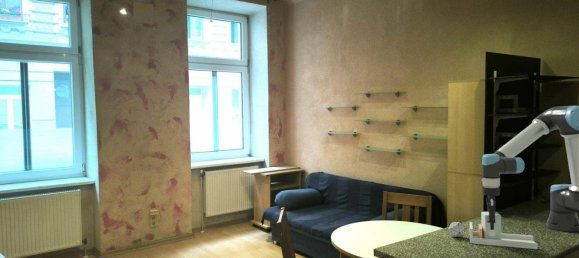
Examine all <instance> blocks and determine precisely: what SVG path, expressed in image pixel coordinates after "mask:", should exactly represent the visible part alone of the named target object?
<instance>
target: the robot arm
mask: <svg viewBox="0 0 579 258" xmlns="http://www.w3.org/2000/svg"><path fill="white" fill-rule="evenodd" d="M555 130H559V135H560V136H561V137H563V139H564V143H565V144H564V145H565V151H566V155H567V156H566V157H567V162H568V169H569V170H568V171H569V176H570V182H571V184H566V183H563V184H553V185H551V186H550V191H549V193H550V195H549V197H550V211H549V216H548V218H547V220H546V227H547V228H548V229H552V230H554V231H560V232H569V233H570V232H571V233H572V232H579V217H578V214H579V105H564V106H554V107H551V108H549V109H547V110H545V111H543V112H542V113H540V114H539V115H537V116H536V117H535V118H534V119H533V120H531V124H529V125H528V126H526V128H524V129H523V130H522V131H521V132H519V133H518V134H516V135H515V136H514V137H512V139H510V140H509V141H508V142H506V143H505V144H503V146H501V147H499V149H497V150H496V151H495V152H493V153H488V154H487V153H486V154H485V153H484V154H483V155H482V161H481V171H482V172H481V173H482V174H481V177H482V179H480V181H481V182H482V191H481V192H482V195H483V196H487V197H485V198H486V199H485V200H486V206H487V212H489V221H487V223H489V236H494V237H495V222H496V221H495V212H496V206H497V205H496V203H497V199H496V198H495V197H498V196H500V195H501V188H500V186H501V176H500V175H503V174H507V175H508V174H520V173H523V171H525V162H524V159H522V158H521V157H516V156H517V155H518V154H520V153H521V152H523V151H524V150H525V149H526V148H527V147H529V146H530V145H531V144H533V143H534V142H535V141H537V140H538V139H539V138H541V137H542V136H543V135H548V134H549V133H550V132H552V131H555ZM491 219H492V220H491Z"/></svg>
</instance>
